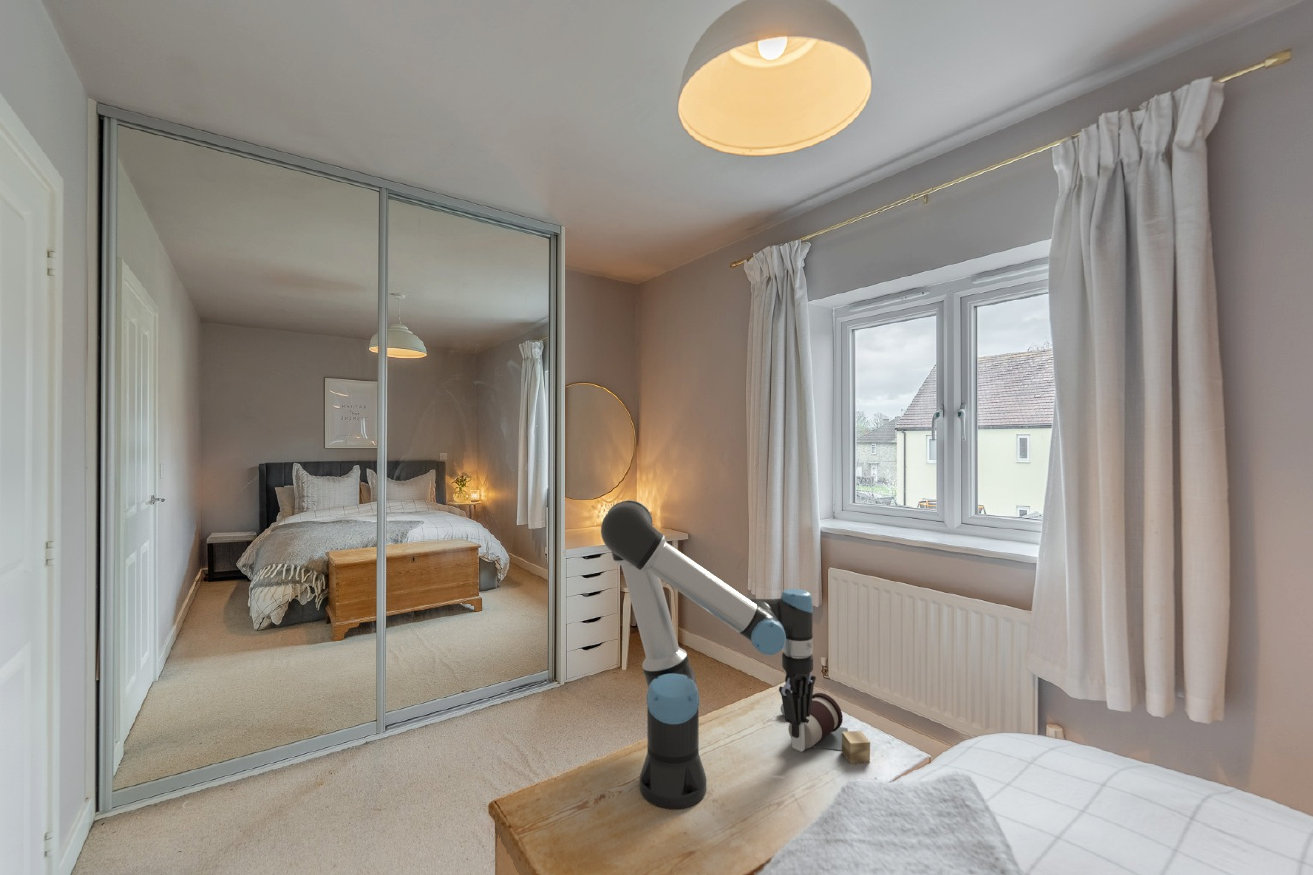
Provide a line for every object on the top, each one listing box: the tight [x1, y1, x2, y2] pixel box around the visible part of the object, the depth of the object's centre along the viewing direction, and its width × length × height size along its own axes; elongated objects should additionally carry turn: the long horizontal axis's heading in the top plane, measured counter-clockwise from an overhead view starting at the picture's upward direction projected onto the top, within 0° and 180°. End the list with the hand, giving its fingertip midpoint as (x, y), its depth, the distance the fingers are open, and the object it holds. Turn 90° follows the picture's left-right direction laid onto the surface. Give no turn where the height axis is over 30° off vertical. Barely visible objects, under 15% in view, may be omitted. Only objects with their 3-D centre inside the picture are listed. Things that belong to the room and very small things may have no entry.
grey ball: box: [780, 703, 785, 717], centre depth 162 cm, size 4×4×4 cm
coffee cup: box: [788, 692, 844, 750], centre depth 149 cm, size 10×10×15 cm
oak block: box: [841, 730, 871, 764], centre depth 141 cm, size 5×5×5 cm
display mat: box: [811, 726, 849, 752], centre depth 151 cm, size 12×12×1 cm
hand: (798, 748), depth 141 cm, fingers closed
